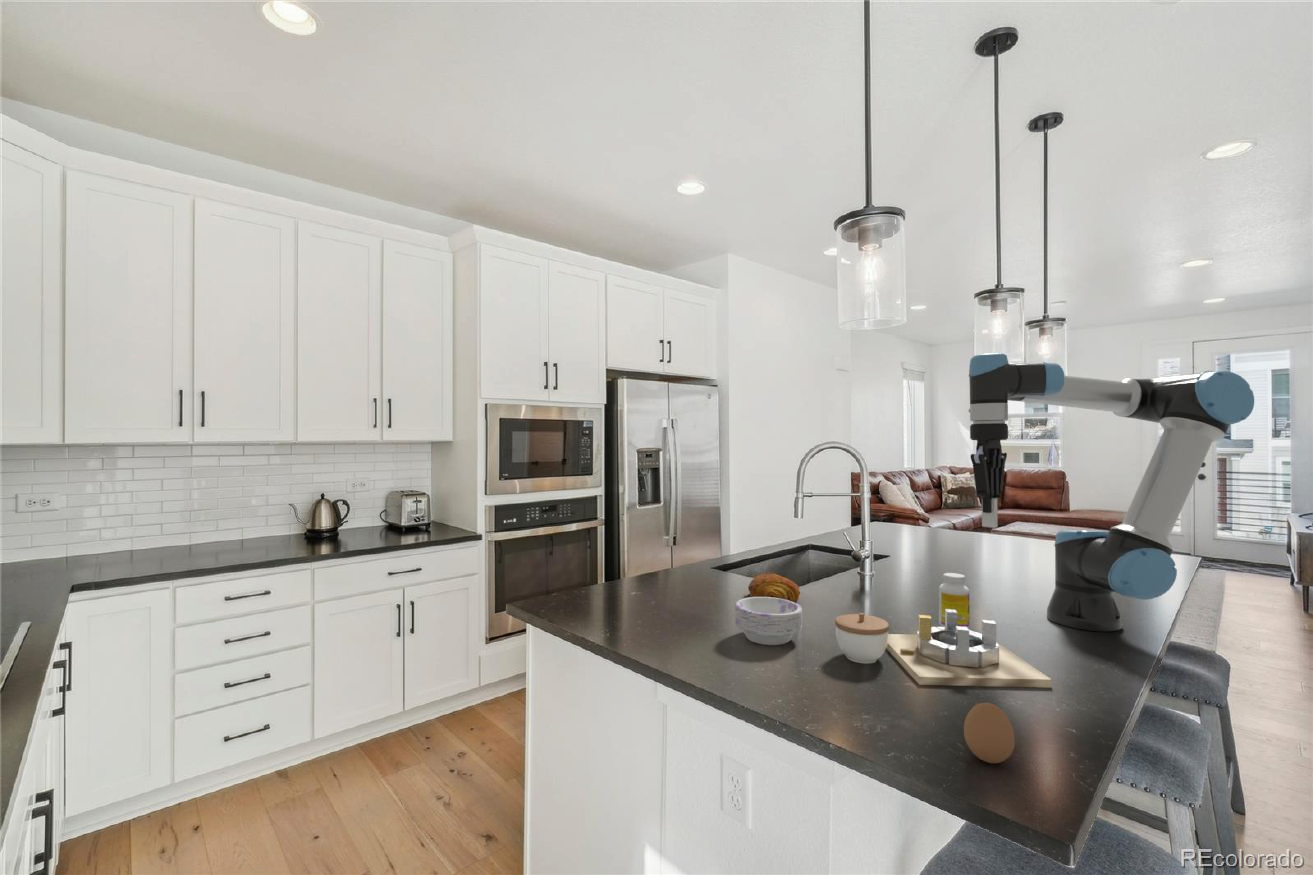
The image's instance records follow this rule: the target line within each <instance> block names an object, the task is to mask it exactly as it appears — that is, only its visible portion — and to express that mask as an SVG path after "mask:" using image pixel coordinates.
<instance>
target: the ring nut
mask: <svg viewBox="0 0 1313 875" xmlns="http://www.w3.org/2000/svg"><path fill="white" fill-rule="evenodd" d="M946 632H953V633H956V646H952V645H948V644H945V643H942V642H939V635H940V634H941V633H946ZM916 635H917V647H918V649H919V652H920V654H922V655H923V656H926V657H929V658H931V659H934V660H937V661H939V662H942V663H948V664H949V665H958V666H968V667H979V666H980V667H985V666H988V665H992V664H995V663H998V661H999V645H998V644H997V643H998V642H997V623H996V622H995V620H988V619H982V620H981V633H980V632H976V631H973V630H971V629H970V628H969V629H968V628H967V627H961V626H957V612H956V610H951V609H945V627H941V626H938V625H937V626H932V616H931V615H926V614H918V630H917V631H916ZM969 636H970V637H972V638H973V639H974V647H969ZM996 642H997V643H996Z"/></svg>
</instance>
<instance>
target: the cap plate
mask: <svg viewBox="0 0 1313 875" xmlns="http://www.w3.org/2000/svg"><path fill="white" fill-rule="evenodd" d="M996 643H997V644H998V645H999V661H998V663H995V664H992V665H988V666H985V667H980V666H979V667H968V666H958V665H949V664H948V663H942V662H939V661H937V660H934V659H931V658H929V657H926V656H923V655H922V654H920V652H919V649H918V647H917V634H908V633H907V634H904V633H903V634H902V633H900V634H899V633H898V634H897V633H895V634H894V633H888V643H887V647H886V650H887V651H888V652H889V653H890V655H892V656H893V657H894V659H895V660H897V662H898V663H899V664H900V665H901V666H902V667H903V668H904V669H905V670H906V672H907V673H908V674H909V675H910V676H911V677H912V678H913V680H915V682H916V683H917V684H918V685H919V686H957V687H958V686H961V687H962V686H963V687H967V686H968V687H1005V688H1007V687H1008V688H1009V687H1011V688H1046V689H1047V688H1049V689H1050V688H1051V689H1052V688H1053V687H1052V686H1053V680H1052V678H1050V677H1049V676H1047V675H1046V674H1044V672H1041V671H1040V670H1038V669H1037V668H1035V667H1034V666H1033V665H1031V664H1030V663H1029V662H1026V660H1024V659H1022V658H1021V657H1019V656H1018V655H1016V654H1015V653H1013V652H1012V651H1011V650H1009V649H1007V648H1006V647H1004V646H1003V645H1001V644H1000V643H999V642H998V641H996Z"/></svg>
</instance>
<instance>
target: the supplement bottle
mask: <svg viewBox="0 0 1313 875" xmlns="http://www.w3.org/2000/svg"><path fill="white" fill-rule="evenodd" d="M942 576H943V581H944V582H943V583H941V584H940V585H939V587H938V625H939V627H945V609H951V610H956V612H957V626H961V627H967V628H968V629H969V630H970V589H969V587H967V585H965V581H966V576H965V575H964V574H961V573H956V572H955V573H954V572H946V573H945V572H944V573H943V575H942Z"/></svg>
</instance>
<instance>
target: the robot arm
mask: <svg viewBox="0 0 1313 875" xmlns="http://www.w3.org/2000/svg"><path fill="white" fill-rule="evenodd" d="M968 373H969V374H968V377H969V405H970V406H969V408H968V413H969V421H970V422H972V424H970V426H969V439H970V440H972V441H976V446H975V447H976V449H975V450H976V451H975V453H972V454H970V456H969V457H970V460H971V463H972V467H973V468H972V469H973V476H974V487H975V492H976V498H979V499H980V498H981V527H983V528H992V529H996V528H998V524H999V523H998V516H999V515H998V499H1002V498H1003V495H1002V494H1003V488H1004V480H1005V479H1004V478H1005V466H1006V460H1007V457H1008V454H1007V452H1003V450H1002V444H1001V441H1006V440H1008V439H1009V425H1008V423H1006V422H1007V421H1009V401H1010V402H1011V401H1012V402H1024V403H1031V404H1040V405H1047V406H1048V405H1050V406H1059V407H1067V408H1076V409H1085V410H1092V411H1093V410H1094V411H1105V412H1111V413H1112V414H1114V415H1115V416H1118V417H1121V418H1128V419H1136V420H1140V421H1147V422H1152V423H1157V424H1159V425H1161V427H1162V428H1163V432H1162V434H1161V436H1160V438H1159V440H1158V443H1157V446H1156V447H1155V450H1154V451H1153V454H1152V456H1151V459H1150V460H1149V463H1148V465H1147V467H1146V470H1145V472H1144V474H1143V476H1142V479H1141V481H1140V482H1139V485H1138V488H1137V490H1136V491H1135V494H1134V496H1133V498H1132V501H1131V502H1130V505H1129V507H1128V509H1127V511H1126V513H1125V515H1124V518H1123V520H1122V523H1120V524H1118V525H1115V526H1111V527H1110V529H1109V530H1097V529H1096V530H1094V529H1093V530H1090V529H1085V530H1084V529H1065V530H1064V529H1063V530H1062V529H1061V530H1058V531H1057V532H1056V534H1055V540H1054V541H1055V542H1054V544H1053V545H1054V551H1055V556H1054V559H1055V560H1054V562H1055V563H1054V569H1055V570H1054V572H1055V574H1054V576H1055V577H1054V578H1055V579H1054V581H1055V583H1054V585H1055V586H1054V590H1053V592H1052V596H1051V598H1050V600H1049V602H1048V605H1047V608H1046V617H1047V619H1048V620H1050V622H1053V623H1056V624H1058V625H1061V626H1064V627H1068V628H1073V629H1079V630H1084V631H1091V632H1092V631H1093V632H1116V631H1120V630H1122V616H1121V614H1120V612H1119V609H1118V606H1117V604H1116V601H1115V598H1114V596H1113V592H1114V593H1116V594H1118V595H1121V597H1122V596H1123V597H1126V598H1132V599H1136V600H1141V601H1143V600H1153V599H1156V598H1159V597H1162V596H1163V595H1165V594H1166V593H1167V592H1168V591H1170V590H1171V588H1172V587H1173V586H1174V584H1175V582H1176V580H1177V574H1178V569H1177V568H1176V562H1175V560H1174V559H1173V558H1172V557H1171V556H1172V554H1173V551H1174V547H1173V546H1172V545H1171V543H1170V541H1169V538H1170V536H1171V534H1172V532H1173V530H1174V527H1175V525H1176V522H1177V521H1178V518H1179V517H1180V515H1181V514H1180V513H1181V512H1182V509H1183V507H1184V505H1185V502H1186V500H1188V496H1189V494H1190V492H1191V489H1192V487H1193V485H1194V483H1195V481H1196V479H1197V476H1198V474H1199V471H1200V470H1201V468H1202V466H1203V463H1204V461H1205V459H1206V457H1207V454H1208V452H1209V450H1210V449H1211V448H1210V447H1211V446H1212V444H1213V442H1216V441H1219V440H1222V439H1224V438H1226V437H1225V436H1226V434H1227V432H1228V430H1229V428H1230V426H1231V425H1234V424H1237V423H1240V422H1242V421H1245V420H1246V419H1248V417H1249V416H1250V415H1252V413H1253V410H1254V407H1255V406H1254V405H1255V395H1254V391H1253V389H1251V386H1250V384H1249V382H1248V381H1247V380H1246V379H1245V378H1244V377H1243V376H1241V375H1240V374H1237V373H1236V372H1232V371H1227V370H1216V371H1215V370H1207V371H1202V372H1197V373H1188V374H1178V375H1177V374H1176V375H1166V376H1162V377H1161V376H1160V377H1153V378H1139V379H1138V378H1129V377H1128V378H1122V379H1121V380H1118V381H1117V380H1111V379H1110V380H1109V379H1098V378H1091V377H1090V378H1089V377H1081V376H1072V375H1071V376H1070V375H1066V374H1065V371H1064V370H1063V368H1062V366H1061V365H1060V364H1058V363H1056V362H1045V361H1041V362H1017V363H1016V362H1015V363H1014V362H1009V360H1008V356H1007V354H1005V353H1000V352H999V353H995V352H994V353H993V352H992V353H983V354H982V353H981V354H977V355H973V356H972V357H971V358H970V360H969V370H968Z"/></svg>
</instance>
